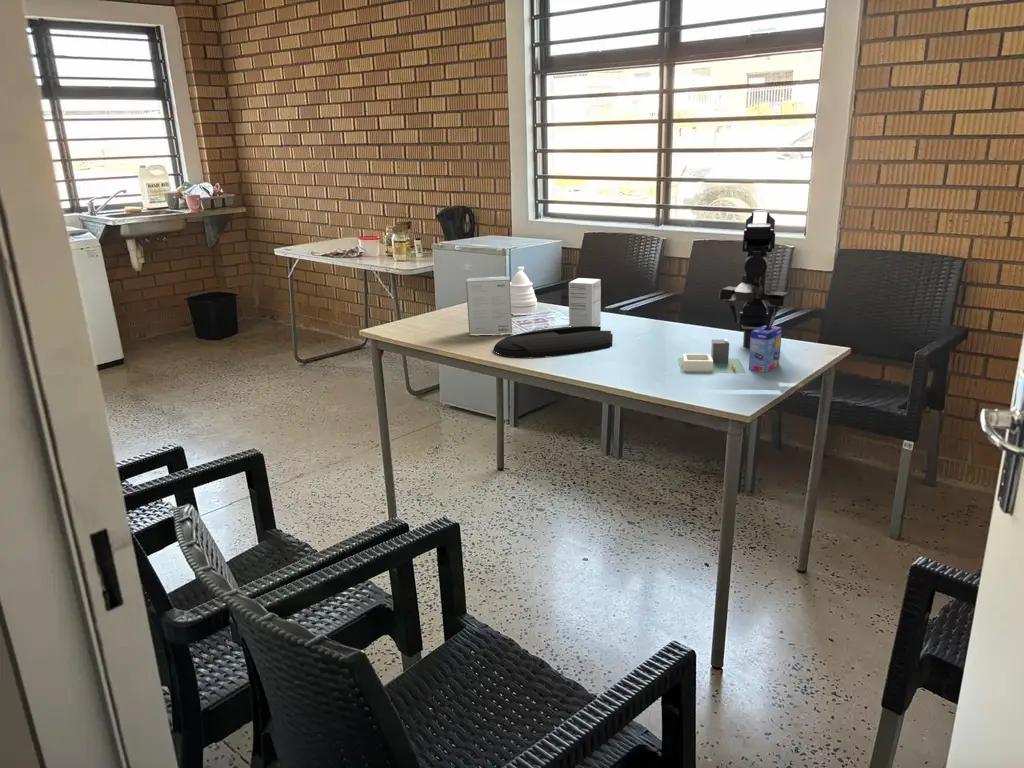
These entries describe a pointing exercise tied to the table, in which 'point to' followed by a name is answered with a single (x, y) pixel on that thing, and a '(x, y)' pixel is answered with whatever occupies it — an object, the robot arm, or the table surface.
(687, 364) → the frame
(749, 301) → the robot arm
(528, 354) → the docking station
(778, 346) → the ink cartridge box
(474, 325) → the hard drive box
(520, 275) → the honey pot
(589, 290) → the supplement box
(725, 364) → the board
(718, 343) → the plug
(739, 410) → the table surface
